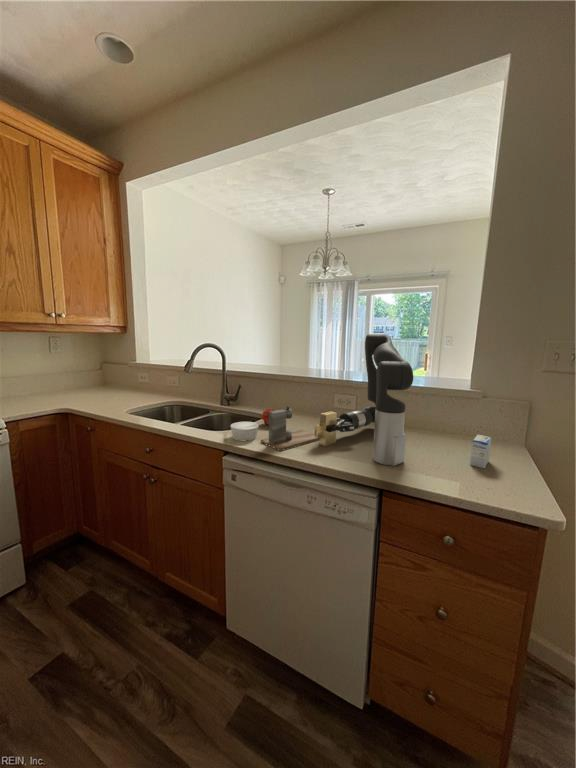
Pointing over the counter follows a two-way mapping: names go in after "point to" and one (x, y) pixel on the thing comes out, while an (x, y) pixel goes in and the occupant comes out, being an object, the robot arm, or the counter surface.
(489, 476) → the counter surface
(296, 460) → the counter surface
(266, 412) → the dragon fruit
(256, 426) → the ramekin
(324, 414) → the pale yellow flat block
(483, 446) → the medicine box
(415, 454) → the counter surface
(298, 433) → the hinge base
